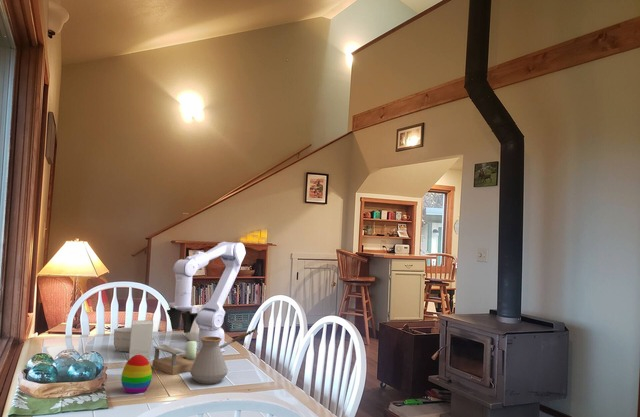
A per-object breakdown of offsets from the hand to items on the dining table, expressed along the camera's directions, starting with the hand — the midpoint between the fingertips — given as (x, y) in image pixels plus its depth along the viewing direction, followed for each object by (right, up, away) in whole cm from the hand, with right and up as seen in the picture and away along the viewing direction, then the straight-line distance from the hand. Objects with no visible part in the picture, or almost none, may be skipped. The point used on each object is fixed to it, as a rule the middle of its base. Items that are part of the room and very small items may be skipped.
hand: (180, 330), depth 176 cm
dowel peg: (+6, -10, -9) cm, 14 cm away
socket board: (+5, -10, -10) cm, 15 cm away
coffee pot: (+20, -10, -22) cm, 31 cm away
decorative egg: (-2, -8, -37) cm, 38 cm away
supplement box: (-14, -9, -2) cm, 17 cm away
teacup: (-21, -10, +7) cm, 24 cm away
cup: (-1, -12, +33) cm, 35 cm away
